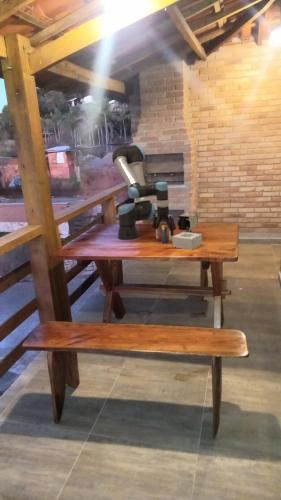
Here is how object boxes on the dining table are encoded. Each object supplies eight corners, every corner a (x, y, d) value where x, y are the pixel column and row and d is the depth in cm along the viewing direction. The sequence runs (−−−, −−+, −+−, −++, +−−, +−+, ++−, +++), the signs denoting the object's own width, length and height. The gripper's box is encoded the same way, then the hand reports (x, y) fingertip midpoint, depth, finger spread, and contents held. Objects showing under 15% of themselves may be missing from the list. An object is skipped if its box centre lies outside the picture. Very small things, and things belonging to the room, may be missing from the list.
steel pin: (160, 243, 255) (159, 226, 251) (163, 241, 258) (162, 224, 254) (165, 244, 252) (164, 226, 249) (169, 242, 255) (168, 225, 252)
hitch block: (172, 247, 245) (172, 236, 243) (183, 241, 255) (183, 231, 253) (191, 250, 237) (191, 239, 235) (202, 244, 246) (201, 234, 244)
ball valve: (189, 240, 256) (188, 214, 251) (177, 239, 261) (176, 214, 255) (199, 234, 271) (199, 209, 266) (188, 233, 275) (188, 208, 270)
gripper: (145, 206, 252) (147, 238, 258) (174, 208, 238) (175, 242, 245) (152, 204, 257) (153, 235, 264) (180, 206, 244) (182, 239, 250)
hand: (164, 239), depth 254 cm, fingers open, 10 cm apart
